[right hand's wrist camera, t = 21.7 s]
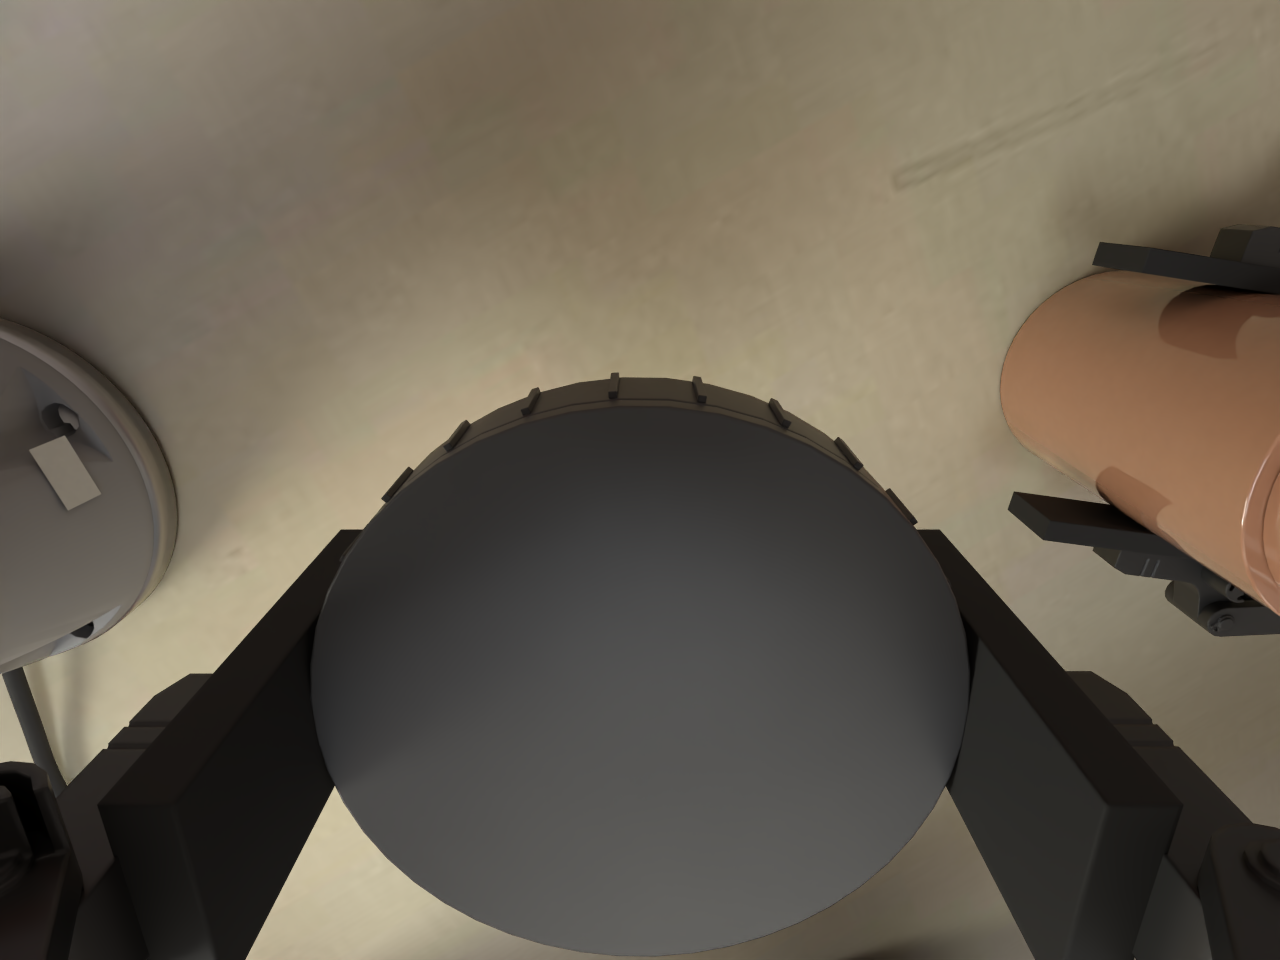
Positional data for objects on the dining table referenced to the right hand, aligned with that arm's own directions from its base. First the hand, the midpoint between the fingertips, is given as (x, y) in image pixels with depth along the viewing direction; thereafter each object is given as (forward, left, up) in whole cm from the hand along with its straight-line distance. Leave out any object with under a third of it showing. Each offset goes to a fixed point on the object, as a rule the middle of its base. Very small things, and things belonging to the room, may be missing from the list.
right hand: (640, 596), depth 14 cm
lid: (0, 0, +3) cm, 3 cm away
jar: (+3, -19, -19) cm, 27 cm away
